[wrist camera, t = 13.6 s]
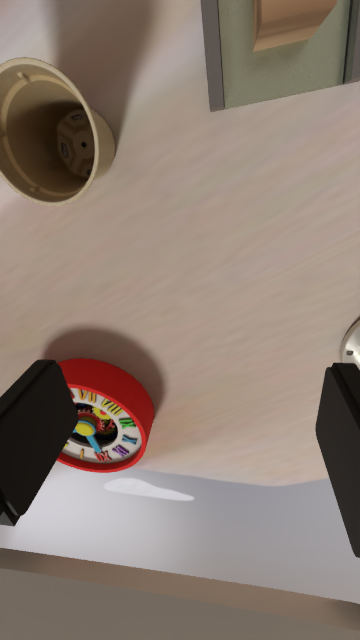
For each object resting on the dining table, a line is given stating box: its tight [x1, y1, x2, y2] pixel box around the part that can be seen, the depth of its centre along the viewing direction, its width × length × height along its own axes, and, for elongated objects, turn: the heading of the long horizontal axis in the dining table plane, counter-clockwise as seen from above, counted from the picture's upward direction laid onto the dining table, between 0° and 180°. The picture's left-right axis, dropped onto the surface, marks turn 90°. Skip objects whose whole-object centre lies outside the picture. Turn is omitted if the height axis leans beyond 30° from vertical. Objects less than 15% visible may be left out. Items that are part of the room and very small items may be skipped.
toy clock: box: [57, 358, 154, 473], centre depth 46 cm, size 20×6×20 cm
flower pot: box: [0, 57, 115, 206], centre depth 25 cm, size 9×9×9 cm
